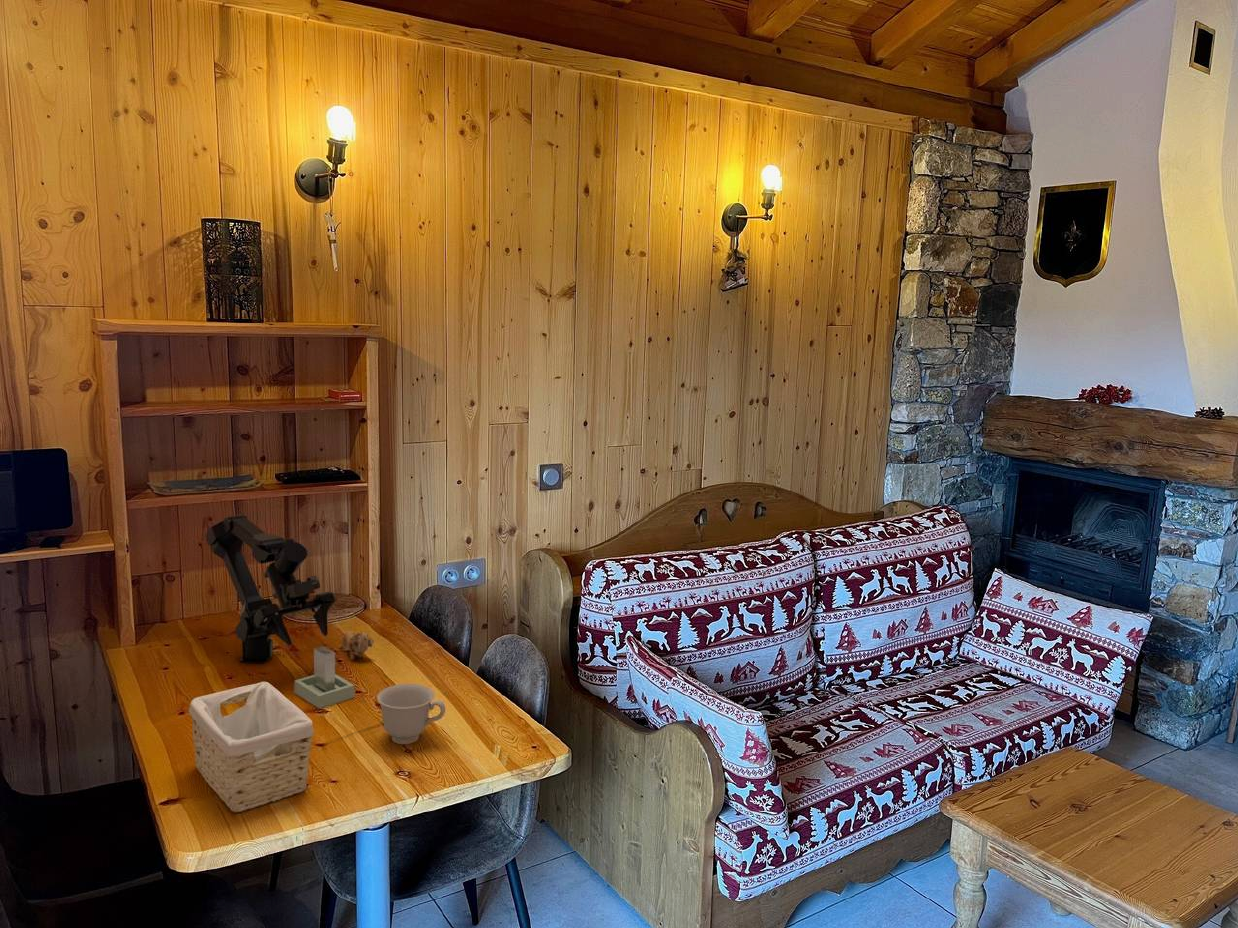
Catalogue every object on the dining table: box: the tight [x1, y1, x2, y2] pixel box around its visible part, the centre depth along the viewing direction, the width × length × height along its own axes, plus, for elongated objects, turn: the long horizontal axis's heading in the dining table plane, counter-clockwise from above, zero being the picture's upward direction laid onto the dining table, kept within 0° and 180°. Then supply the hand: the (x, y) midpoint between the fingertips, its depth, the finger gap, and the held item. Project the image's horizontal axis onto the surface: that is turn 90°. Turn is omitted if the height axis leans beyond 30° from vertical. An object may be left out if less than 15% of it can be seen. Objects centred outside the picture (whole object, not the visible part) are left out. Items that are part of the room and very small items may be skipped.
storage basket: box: [188, 681, 314, 813], centre depth 177 cm, size 24×16×15 cm
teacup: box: [376, 683, 446, 745], centre depth 196 cm, size 12×15×10 cm
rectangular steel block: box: [313, 645, 336, 692], centre depth 211 cm, size 5×2×11 cm, turn 48°
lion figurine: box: [339, 630, 375, 661], centre depth 236 cm, size 15×5×9 cm, turn 44°
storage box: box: [294, 673, 355, 710], centre depth 212 cm, size 11×9×4 cm
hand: (308, 639), depth 215 cm, fingers open, 9 cm apart
